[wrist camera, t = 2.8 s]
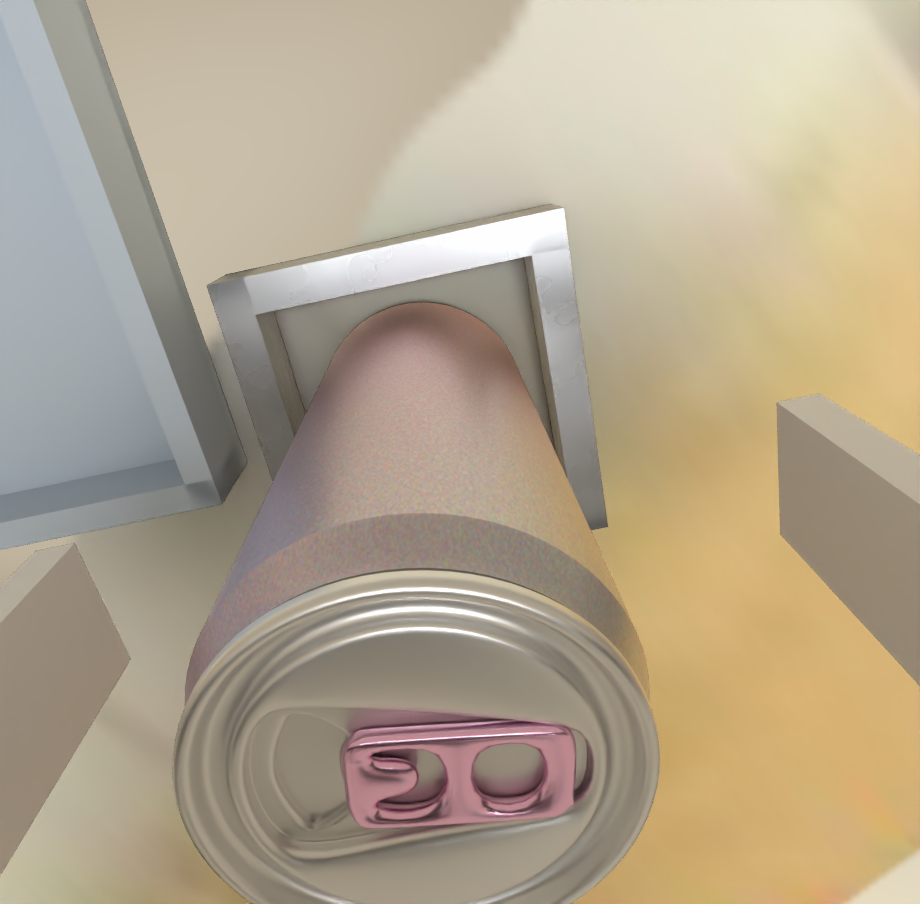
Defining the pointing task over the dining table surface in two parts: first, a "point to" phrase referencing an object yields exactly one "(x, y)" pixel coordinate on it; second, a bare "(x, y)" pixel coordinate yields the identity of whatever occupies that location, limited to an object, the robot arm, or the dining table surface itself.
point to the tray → (91, 305)
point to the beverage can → (417, 651)
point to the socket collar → (403, 260)
